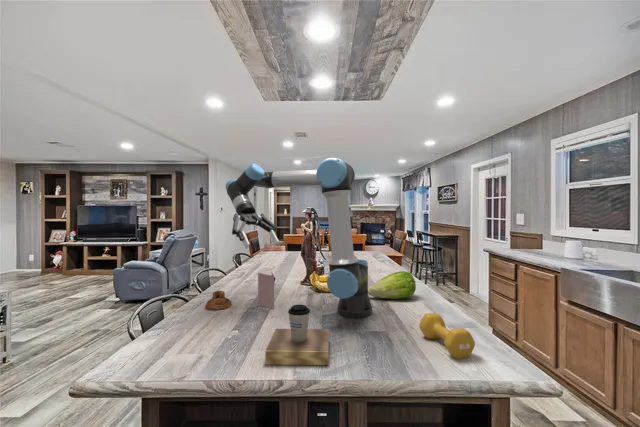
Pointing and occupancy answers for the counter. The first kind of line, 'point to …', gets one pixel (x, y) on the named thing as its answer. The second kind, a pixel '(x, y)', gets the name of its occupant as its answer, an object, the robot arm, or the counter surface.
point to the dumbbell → (448, 335)
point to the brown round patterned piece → (218, 302)
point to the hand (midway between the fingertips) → (262, 245)
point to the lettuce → (394, 286)
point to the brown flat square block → (298, 348)
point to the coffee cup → (299, 322)
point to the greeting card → (266, 290)
